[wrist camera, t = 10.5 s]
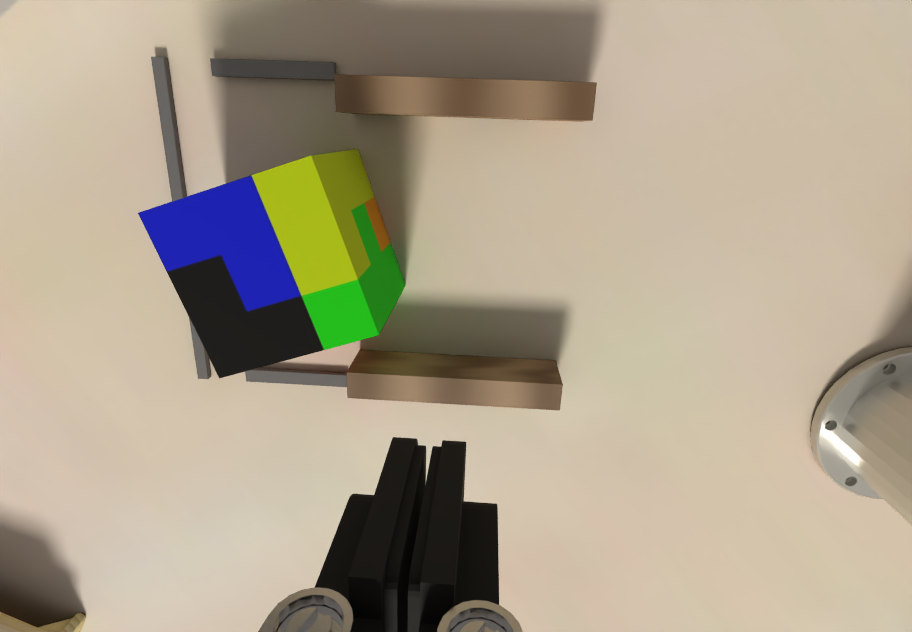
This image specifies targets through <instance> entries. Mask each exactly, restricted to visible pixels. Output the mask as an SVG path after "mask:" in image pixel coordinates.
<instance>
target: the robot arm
mask: <svg viewBox="0 0 912 632" xmlns="http://www.w3.org/2000/svg"><path fill="white" fill-rule="evenodd" d="M810 437H811V447H812V451H813V453H814V456H815V459H816V461H817V462H818V464H819V465H820V467H821V468H822V470H823V471H824V472H825V473H826V474H827V475H828V476H829V477H830V478H831V479H832V480H833V481H834V482H835V483H837V484H838V485H839V486H841V487H842V488H843V489H845V490H847V491H850V492H852V493H854V494H857V495H859V496H864V497H868V498H872V499H884V500H885V501H886V502H887V503H888V504H889V505H890V506H891V507H892V508H893V509H895V510H896V511H897V512H898V513H899V514H900V515H901V516H902V517H903V518H904V519H905V520H906V521H907V522H908V523H910V524H911V525H912V347H907V348H899V349H896V350H892V351H888V352H885V353H881V354H879V355H877V356H874V357H872V358H870V359H868V360H865V361H864V362H862V363H860V364H859V365H857V366H856V367H854V368H852V369H851V370H849V371H848V372H847V373H846V374H844V375H843V376H842V377H841V378H840V379H839V380H837V381H836V382H835V383H834V385H833V386H832V387H831V388H830V389H829V390H828V392H827V393H826V394H825V395H824V397H823V399H822V400H821V402H820V404H819V406H818V407H817V409H816V412H815V415H814V418H813V421H812V426H811V434H810ZM465 458H466V442H459V441H442V447H436V446H433V448H432V453H431V459H430V464H429V470H428V475H427V480H426V446H421V445H418V442H417V439H412V438H397V437H394V438H393V439H392V441H391V445H390V448H389V451H388V454H387V457H386V460H385V463H384V466H383V470H382V473H381V476H380V479H379V482H378V485H377V488H376V491H375V494H374V495H363V494H352V495H351V496H350V498H349V500H348V503H347V505H346V508H345V511H344V513H343V516H342V518H341V521H340V523H339V526H338V529H337V531H336V534H335V536H334V539H333V542H332V544H331V547H330V549H329V552H328V555H327V557H326V560H325V562H324V565H323V567H322V570H321V573H320V575H319V578H318V580H317V583H316V586H315V588H310V589H304V590H301V591H298V592H296V593H294V594H291V595H289V596H288V597H287V598H285V599H284V600H282V601H281V602H280V603H278V604H277V606H276V607H275V608H274V609H273V610H272V612H271V613H270V614H269V615H268V617H267V619H266V620H265V622H264V623H263V625H262V626H261V628H260V630H259V631H258V632H523V631H522V629H521V626H520V624H519V622H518V621H517V620H516V619H515V617H514V616H513V615H512V614H511V613H510V612H509V611H507V610H506V609H505V608H503V607H502V606H500V605H499V574H498V515H497V504H491V503H477V502H463V501H464V480H465ZM425 484H426V486H425Z"/></svg>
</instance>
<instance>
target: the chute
mask: <svg viewBox="0 0 912 632" xmlns="http://www.w3.org/2000/svg"><path fill="white" fill-rule="evenodd" d="M334 77H335V101H336V112H343V113H351V114H377V115H406V116H435V117H465V118H494V119H523V120H552V121H591V120H593V112H594V103H595V94H596V85H597V83H594V82H561V81H529V80H497V79H464V78H432V77H400V76H368V75H335V74H334ZM562 386H563V384H562V381H561V377H560V374H559V370H558V367H557V364H556V361H555V360H536V359H518V358H499V357H481V356H463V355H444V354H426V353H407V352H389V351H371V350H359V352H358V354H357V356H356V357H355V359H354V361H353V362H352V364H351V366H350V367H349V369H348V371H347V396H348V398H357V399H375V400H392V401H409V402H426V403H443V404H460V405H477V406H494V407H511V408H528V409H546V410H560V404H561V395H562Z"/></svg>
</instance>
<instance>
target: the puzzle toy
mask: <svg viewBox="0 0 912 632" xmlns="http://www.w3.org/2000/svg"><path fill="white" fill-rule="evenodd" d="M138 214H139V216H140V218H141V220H142V222H143V224H144V226H145V228H146V230H147V232H148V234H149V236H150V238H151V240H152V242H153V245H154V247H155V249H156V251H157V253H158V255H159V257H160V259H161V261H162V263H163V265H164V267H165V269H166V271H167V273H168V275H169V277H170V279H171V281H172V283H173V285H174V287H175V289H176V291H177V293H178V295H179V297H180V299H181V301H182V303H183V305H184V307H185V309H186V311H187V314H188V316H189V318H190V320H191V322H192V324H193V326H194V328H195V330H196V332H197V334H198V336H199V338H200V340H201V342H202V344H203V346H204V348H205V350H206V352H207V354H208V356H209V358H210V360H211V362H212V364H213V366H214V368H215V370H216V372H217V374H218V376H219V378H222V377H226V376H230V375H233V374H237V373H241V372H244V371H248V370H252V369H256V368H259V367H263V366H267V365H270V364H274V363H278V362H281V361H285V360H289V359H293V358H296V357H300V356H304V355H307V354H311V353H315V352H318V351H322V350H326V349H330V348H333V347H337V346H341V345H344V344H348V343H352V342H355V341H359V340H363V339H367V338H370V337H374V336H378V335H379V334H380V332H381V330H382V328H383V326H384V325H385V323H386V321H387V319H388V317H389V315H390V313H391V312H392V310H393V308H394V306H395V304H396V302H397V300H398V298H399V297H400V295H401V293H402V291H403V289H404V287H405V283H404V280H403V277H402V274H401V271H400V268H399V265H398V263H397V260H396V257H395V254H394V251H393V248H392V245H391V242H390V240H389V237H388V234H387V231H386V228H385V225H384V222H383V219H382V217H381V214H380V211H379V208H378V205H377V202H376V199H375V196H374V194H373V191H372V188H371V185H370V182H369V179H368V176H367V173H366V171H365V168H364V165H363V162H362V159H361V156H360V153H359V150H358V149H353V150H346V151H339V152H332V153H325V154H318V155H311V156H308V157H305V158H302V159H299V160H296V161H293V162H290V163H287V164H284V165H281V166H278V167H275V168H272V169H269V170H266V171H263V172H260V173H257V174H254V175H251V176H248V177H245V178H242V179H239V180H236V181H233V182H230V183H227V184H224V185H221V186H218V187H215V188H212V189H209V190H206V191H203V192H200V193H197V194H194V195H191V196H188V197H185V198H182V199H179V200H176V201H173V202H170V203H167V204H164V205H161V206H158V207H155V208H152V209H149V210H146V211H143V212H140V213H138Z"/></svg>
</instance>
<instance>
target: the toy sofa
mask: <svg viewBox="0 0 912 632" xmlns="http://www.w3.org/2000/svg"><path fill="white" fill-rule="evenodd" d="M84 621H85V615H83V614H82V613H77V614H76V615H75V616H74V617H73V618H71V619H67V620H64V621H60V622H56V623H52V624H48V625H44V626H41V627H35V626H32V625H30V624H28V623H25V622H23V621H21V620H18V619H16V618H13V617H11V616H9V615H7V614H4V613H2V612H0V632H80V631H81V628H82V626H83V623H84Z"/></svg>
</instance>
